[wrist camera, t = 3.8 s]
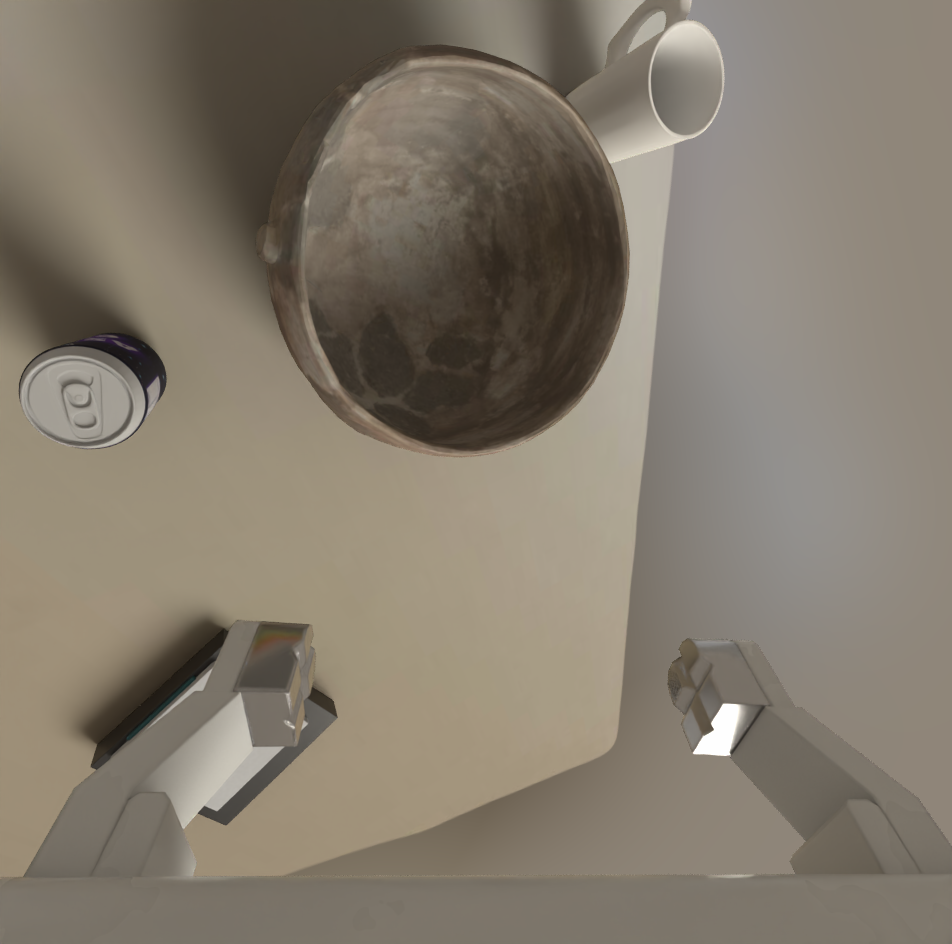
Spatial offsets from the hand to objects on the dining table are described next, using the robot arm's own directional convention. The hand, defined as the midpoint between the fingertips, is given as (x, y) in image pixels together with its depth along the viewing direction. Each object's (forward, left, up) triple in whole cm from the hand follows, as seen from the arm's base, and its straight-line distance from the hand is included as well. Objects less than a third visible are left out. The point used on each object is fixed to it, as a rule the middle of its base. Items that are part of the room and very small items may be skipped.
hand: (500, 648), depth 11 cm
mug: (-2, +34, -36) cm, 50 cm away
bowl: (-1, +12, -36) cm, 39 cm away
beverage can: (-9, -9, -36) cm, 39 cm away
